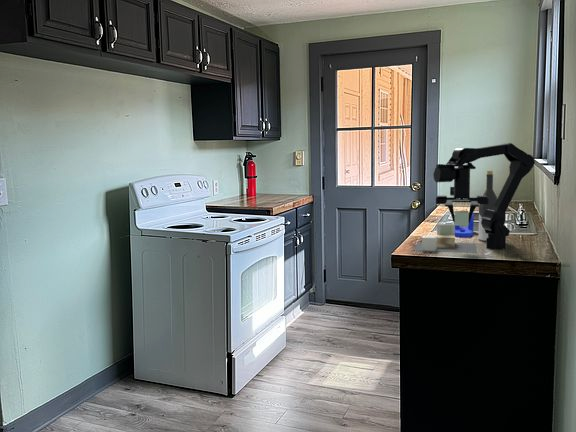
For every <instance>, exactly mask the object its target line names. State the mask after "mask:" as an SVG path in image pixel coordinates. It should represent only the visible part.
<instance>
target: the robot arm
mask: <svg viewBox="0 0 576 432" xmlns="http://www.w3.org/2000/svg"><path fill="white" fill-rule="evenodd" d="M500 155H503V156H505V158H506V160H507V161H508V162H510V163H509V168H508V169H509V174H508V177H507V179H506V181H505V182H504V185H503V186H502V189H501V190H500V192H499V195H498V196H497V201H496V203H495V205H494V207H493V208H492V209H491V210H487V209H486V210H485V212H484V215H483V217H482V218H481V219H482V221H481V224H482V227H483V228H484V230H485V233H487V234H488V238H486V242H485V248H486V250H487V249H489V250H498V251H499V250H506V247H507V246H506V245H507V243H506V242H507V241H506V240H507V237H509V235H510V232H511V229H509V228H508V227H507V226H506V225H505V224H506V220H507V219H506V218H507V217H506V212H507V210H508V208H509V205H510V204H511V201H513V197H514V196H515V194H516V192H517V190H518V187H519V185H520V183H521V182H522V180H523V178H525V177H526V176H527V175H528V174H529V173H531V171H532V169H533V168H534V166H535V163H536V162H535V159H534V158H535V157H533V156H532V155H531V154H529V153H527V152H525V151H524V150H523V149H520V148H519V147H517V146H516V145H515V144H514V143H512V142H508V143H507V142H506V143H505V142H504V143H501V144H497V145H496V144H495V145H487V146H481V147H477V148H476V147H475V148H474V147H472V148H471V147H458V148H455V149H453V151H452V155H451V157H450V158H449V160H448V161H447V162H446V163H445V164H443V163H437V164H436V165H435V168H434V171H433V180H434V181H435V183H451V182H452V183H453V186H449V188H450V189H449V195H450V197H448V195H437V196H435V197H436V198H435V204H436V205H444V206H445V207H447V209H448V210H449V212H450V215H451V219H452V222H453V224H454V223H455V217H454V215H455V210H454V204H453V203H470V205H469V210H468V212H469V222H470V220H471V217H472V214H474V212H475V210H476V208H477V207H478V208H479V205H480V204H488V197H487V196H483V195H476V197H470V196H471V170H476V169H477V167H476V166H475V165H474V164H473V162H475V161H477V160H479V159H482V158H489V157H494V156H500Z"/></svg>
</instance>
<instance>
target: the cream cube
mask: <svg viewBox="0 0 576 432" xmlns="http://www.w3.org/2000/svg"><path fill="white" fill-rule="evenodd" d="M436 237H437V235H423V236H422V239H421V242H422V251H421V252H426V251H436Z"/></svg>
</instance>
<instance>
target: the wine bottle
mask: <svg viewBox="0 0 576 432" xmlns="http://www.w3.org/2000/svg"><path fill="white" fill-rule="evenodd" d="M493 188H494V174H493V170H487V172H486V189H485V191H484V193H483V195H482V196H487V197H488V204H479V207H478V241H480V242H484V243H486V238H488V234H487V233H485V230H484V228H483V227H482V224H481V221H482V219H481V218H482V217H483V215H484V212H485V210H486V209H487V210H491V209H492V208H493V207H494V205H495V203H496V201H497V199H498V196H497V195H496V193H495V190H494V189H493Z"/></svg>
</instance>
